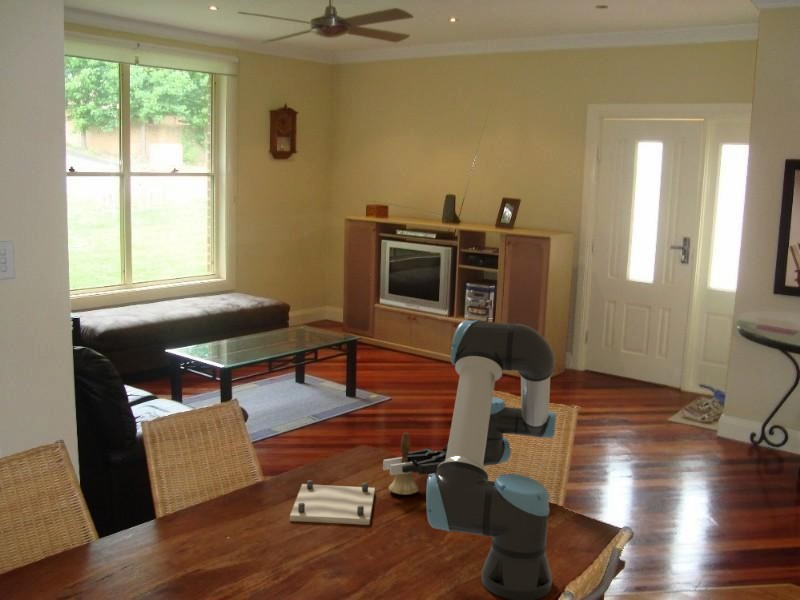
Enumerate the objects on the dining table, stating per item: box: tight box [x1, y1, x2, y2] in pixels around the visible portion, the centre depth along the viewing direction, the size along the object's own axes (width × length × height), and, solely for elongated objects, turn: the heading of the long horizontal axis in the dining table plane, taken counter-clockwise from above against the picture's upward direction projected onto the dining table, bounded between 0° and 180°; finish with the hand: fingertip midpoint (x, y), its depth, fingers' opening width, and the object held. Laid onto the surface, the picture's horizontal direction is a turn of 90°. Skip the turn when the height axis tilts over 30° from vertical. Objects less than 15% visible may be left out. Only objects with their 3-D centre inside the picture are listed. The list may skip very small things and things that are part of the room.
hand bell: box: [388, 432, 420, 496], centre depth 222 cm, size 8×8×16 cm
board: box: [289, 479, 376, 526], centre depth 213 cm, size 20×20×4 cm
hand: (387, 467), depth 220 cm, fingers closed on hand bell, 3 cm apart
